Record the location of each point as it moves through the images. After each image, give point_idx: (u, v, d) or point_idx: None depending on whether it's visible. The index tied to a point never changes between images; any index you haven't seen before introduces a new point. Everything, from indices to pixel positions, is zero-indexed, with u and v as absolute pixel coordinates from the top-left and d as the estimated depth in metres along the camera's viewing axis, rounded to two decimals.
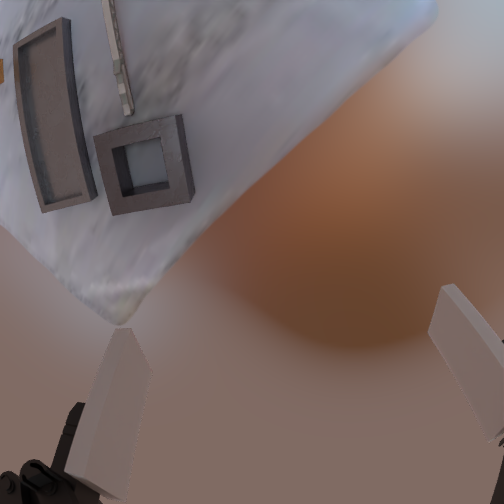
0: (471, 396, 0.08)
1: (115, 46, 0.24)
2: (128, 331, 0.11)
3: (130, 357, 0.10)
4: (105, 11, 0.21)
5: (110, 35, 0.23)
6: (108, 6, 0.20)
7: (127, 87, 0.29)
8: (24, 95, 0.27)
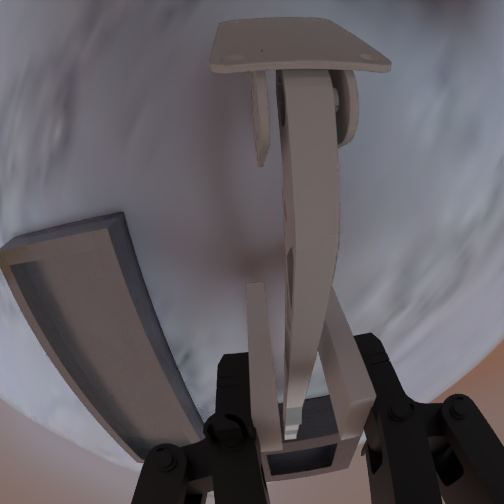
0: (329, 387, 0.10)
1: None
2: (261, 284, 0.13)
3: None
4: (297, 357, 0.09)
5: (294, 389, 0.11)
6: (314, 348, 0.09)
7: None
8: (62, 352, 0.18)
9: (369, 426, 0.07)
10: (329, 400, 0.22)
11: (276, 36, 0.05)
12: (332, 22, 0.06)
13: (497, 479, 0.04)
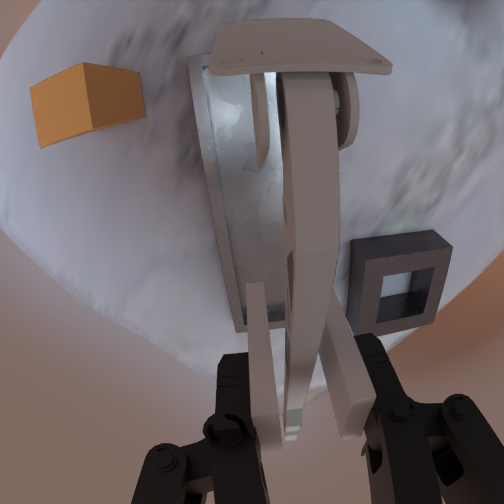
0: (329, 387, 0.10)
1: None
2: (261, 284, 0.13)
3: None
4: (297, 359, 0.09)
5: (295, 390, 0.11)
6: (314, 351, 0.09)
7: None
8: (216, 160, 0.23)
9: (369, 426, 0.07)
10: (420, 233, 0.28)
11: (276, 38, 0.05)
12: (332, 23, 0.06)
13: (497, 479, 0.04)
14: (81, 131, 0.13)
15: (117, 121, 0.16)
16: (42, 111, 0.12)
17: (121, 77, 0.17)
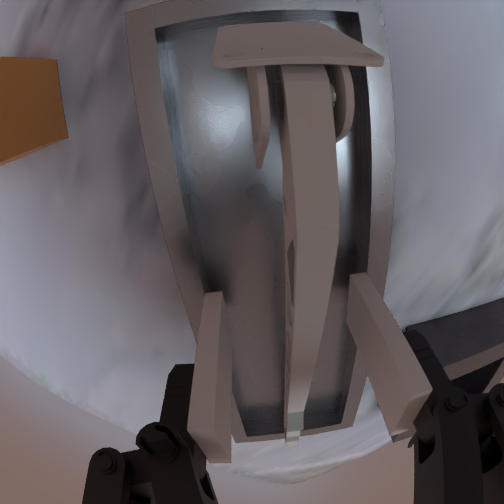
0: (375, 385, 0.10)
1: None
2: (220, 293, 0.12)
3: (223, 318, 0.12)
4: (299, 356, 0.09)
5: (296, 391, 0.11)
6: (315, 346, 0.08)
7: None
8: (192, 224, 0.12)
9: (421, 420, 0.07)
10: (491, 307, 0.17)
11: (274, 37, 0.05)
12: (327, 26, 0.07)
13: None
14: None
15: None
16: None
17: None
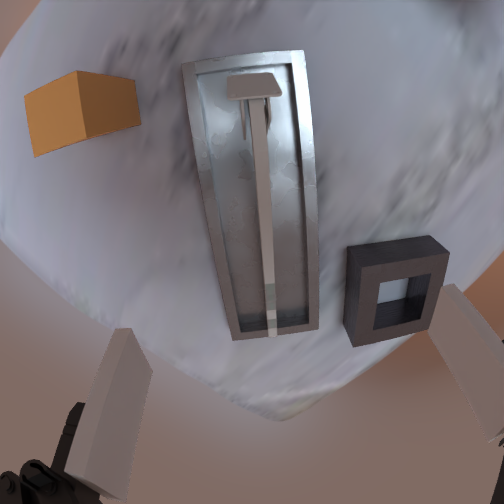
0: (471, 396, 0.08)
1: (271, 268, 0.23)
2: (128, 330, 0.11)
3: (130, 357, 0.10)
4: (263, 218, 0.20)
5: (266, 254, 0.22)
6: (269, 211, 0.20)
7: None
8: (211, 168, 0.23)
9: None
10: (416, 239, 0.28)
11: (248, 86, 0.16)
12: (272, 74, 0.18)
13: None
14: (75, 140, 0.13)
15: (111, 129, 0.16)
16: (36, 120, 0.12)
17: (115, 85, 0.17)
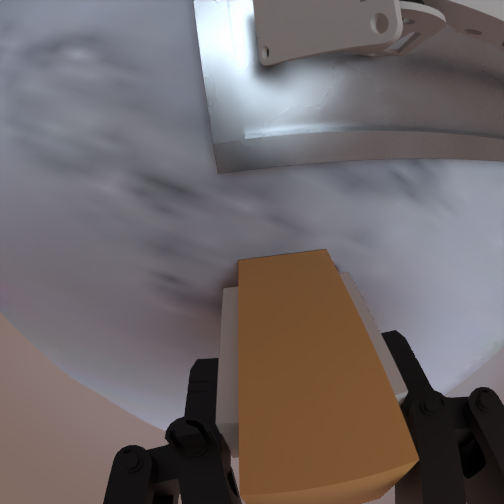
0: None
1: None
2: None
3: None
4: None
5: None
6: None
7: None
8: (440, 130, 0.09)
9: None
10: None
11: None
12: None
13: None
14: (406, 470, 0.05)
15: (373, 353, 0.08)
16: None
17: (259, 326, 0.10)
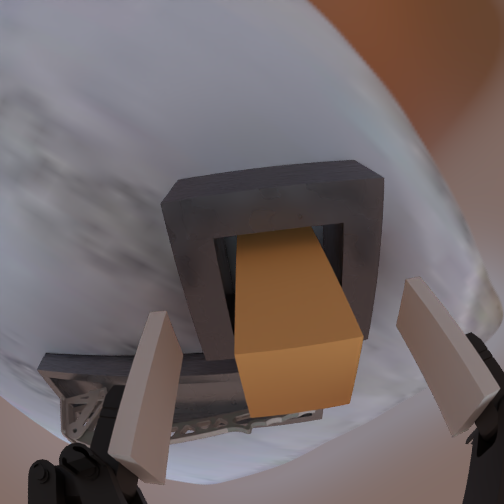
0: (435, 389, 0.09)
1: (207, 432, 0.20)
2: (163, 313, 0.12)
3: (166, 339, 0.11)
4: None
5: (189, 439, 0.20)
6: None
7: None
8: None
9: (485, 418, 0.06)
10: None
11: None
12: (60, 400, 0.21)
13: None
14: (358, 352, 0.09)
15: (332, 274, 0.12)
16: (297, 403, 0.10)
17: (252, 260, 0.14)
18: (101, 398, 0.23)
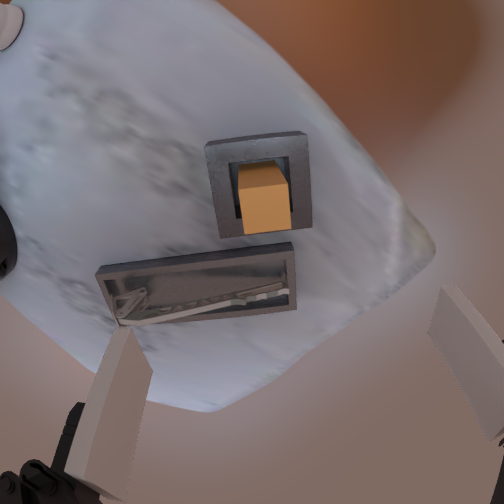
0: (471, 396, 0.08)
1: (217, 304, 0.35)
2: (128, 331, 0.11)
3: (130, 357, 0.10)
4: (178, 316, 0.34)
5: (204, 309, 0.35)
6: (173, 313, 0.34)
7: (260, 288, 0.37)
8: None
9: None
10: None
11: None
12: None
13: None
14: (287, 192, 0.24)
15: (280, 173, 0.27)
16: (265, 223, 0.25)
17: (245, 172, 0.28)
18: (141, 293, 0.38)
